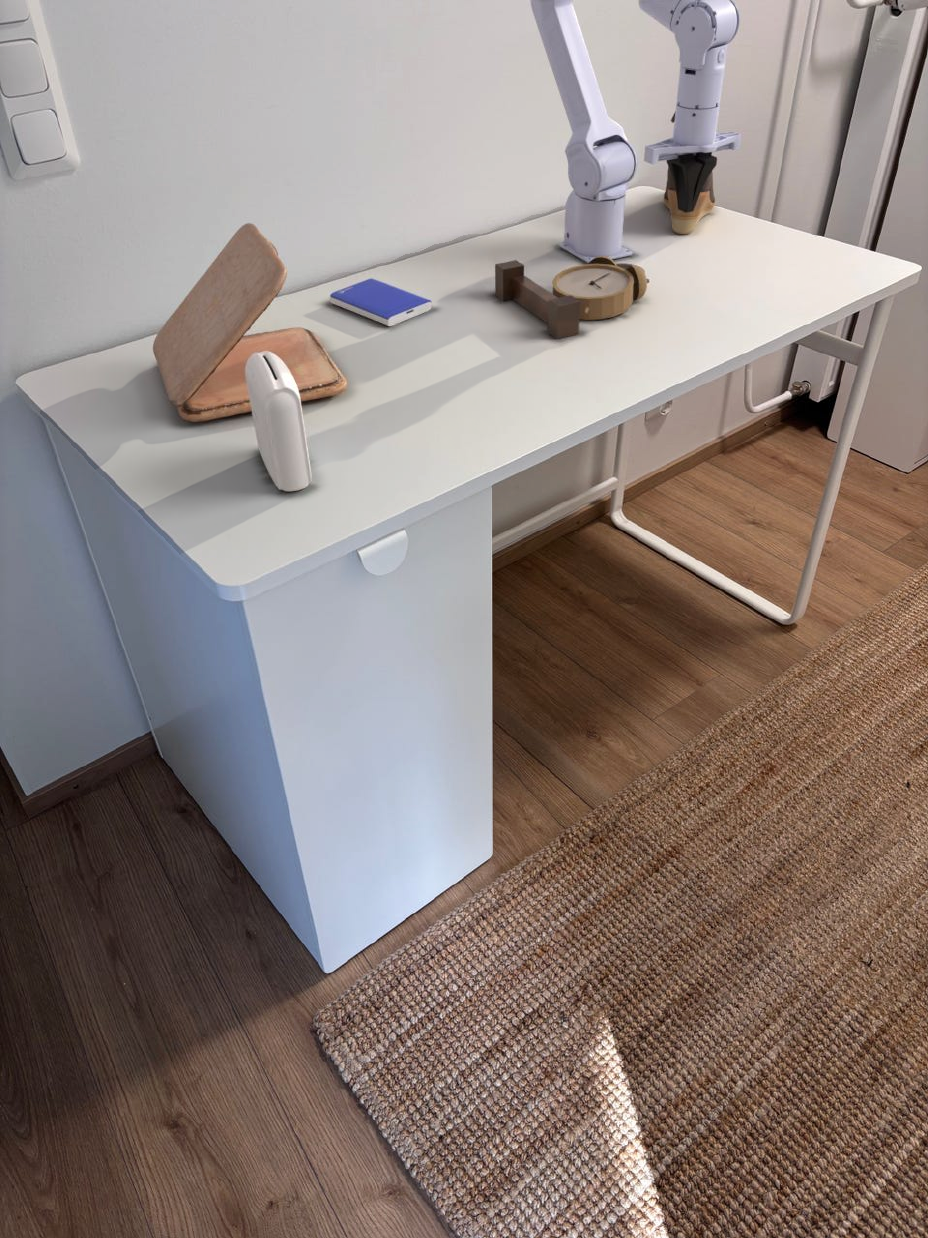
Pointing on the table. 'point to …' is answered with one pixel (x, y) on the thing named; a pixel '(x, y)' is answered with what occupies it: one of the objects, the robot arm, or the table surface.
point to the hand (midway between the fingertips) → (685, 209)
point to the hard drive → (380, 302)
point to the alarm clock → (601, 287)
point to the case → (236, 335)
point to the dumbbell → (537, 299)
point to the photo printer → (278, 421)
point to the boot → (704, 205)
